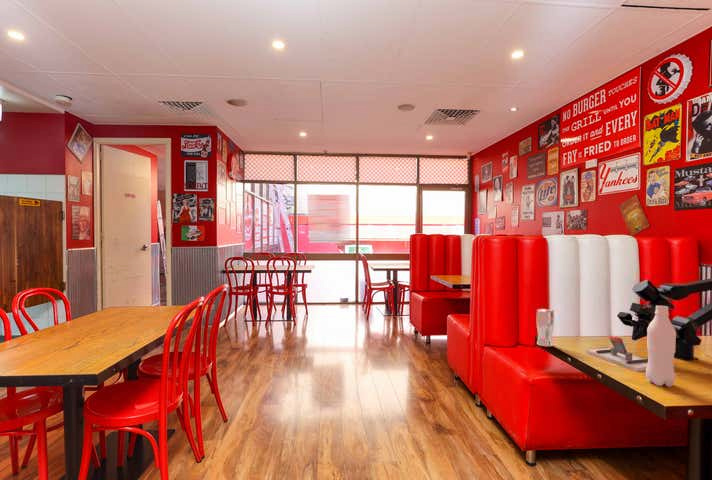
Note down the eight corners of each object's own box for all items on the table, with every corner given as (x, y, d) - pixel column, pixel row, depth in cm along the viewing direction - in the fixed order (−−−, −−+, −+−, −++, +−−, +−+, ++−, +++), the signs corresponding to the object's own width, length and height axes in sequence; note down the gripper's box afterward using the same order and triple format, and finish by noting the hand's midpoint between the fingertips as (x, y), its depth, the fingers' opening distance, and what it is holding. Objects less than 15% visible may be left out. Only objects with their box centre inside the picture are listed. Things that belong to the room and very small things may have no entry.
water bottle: (639, 379, 118) (641, 304, 118) (659, 379, 119) (661, 304, 118) (660, 388, 111) (662, 308, 111) (681, 388, 112) (683, 308, 111)
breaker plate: (609, 350, 148) (609, 341, 148) (662, 368, 129) (662, 358, 128) (586, 352, 145) (586, 343, 145) (636, 371, 125) (636, 360, 125)
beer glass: (549, 342, 158) (550, 308, 158) (556, 347, 151) (557, 312, 151) (533, 341, 159) (533, 308, 159) (539, 346, 152) (540, 311, 152)
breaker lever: (618, 350, 139) (611, 334, 138) (628, 353, 135) (621, 337, 134) (615, 352, 138) (608, 336, 137) (625, 356, 134) (618, 339, 133)
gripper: (620, 292, 148) (599, 320, 145) (670, 300, 130) (647, 332, 127) (634, 310, 150) (614, 338, 147) (686, 320, 132) (663, 352, 129)
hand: (633, 339), depth 138 cm, fingers closed
